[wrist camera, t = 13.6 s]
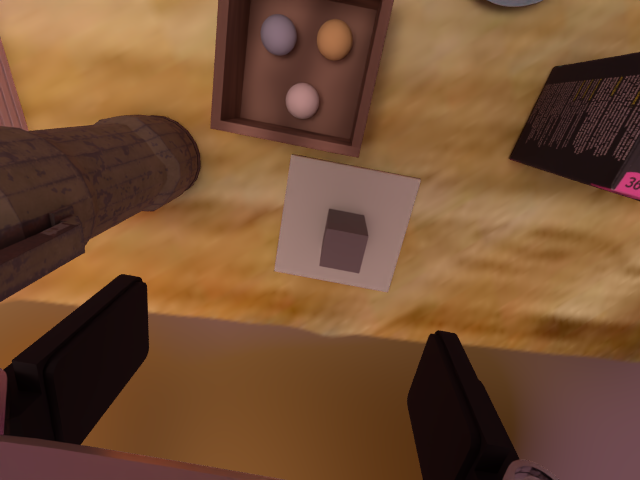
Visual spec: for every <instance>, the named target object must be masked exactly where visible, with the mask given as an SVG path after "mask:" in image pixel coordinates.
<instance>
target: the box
mask: <svg viewBox="0 0 640 480" xmlns="http://www.w3.org/2000/svg"><path fill="white" fill-rule="evenodd" d="M393 2H394V0H218V15H217V31H216V47H215V63H214V79H213V95H212V111H211V129H216V130H222V131H227V132H232V133H237V134H242V135H247V136H252V137H257V138H262V139H267V140H272V141H277V142H282V143H287V144H292V145H297V146H302V147H307V148H312V149H317V150H322V151H327V152H332V153H337V154H342V155H347V156H352V157H357V158H358V157H359V153H360V148H361V144H362V140H363V135H364V131H365V126H366V122H367V117H368V113H369V108H370V104H371V100H372V95H373V91H374V86H375V82H376V77H377V73H378V68H379V64H380V60H381V55H382V51H383V46H384V42H385V37H386V33H387V29H388V24H389V20H390V15H391V11H392V6H393ZM274 14H281V15H284V16H286V17H288V18H289V19H290V20H291V21H292V23H293V24H294V26H295V29H296V33H297V39H296V43H295V46H294V48H293V49H292V50H291V51H290V52H289V53H288V54H286V55H282V56H277V55H274V54H272V53H270V52H269V51H268V50H267V49H266V48H265V47H264V45H263V43H262V40H261V27H262V24H263V23H264V21H265V20H266V19H267V18H268V17H269V16H271V15H274ZM332 19H339V20H342V21H344V22H345V23H346V24H347V25H348V26H349V28H350V29H351V32H352V36H353V43H352V47H351V49H350V51H349V53H348V54H347V55H346V56H345V57H344V58H342V59H340V60H336V61H333V60H329V59H327V58H325V57H324V56H323V55H322V54H321V53H320V51H319V49H318V46H317V34H318V31H319V29H320V28H321V26H322V25H323V24H324V23H325V22H327V21H329V20H332ZM298 83H307V84H309V85H311V86H312V87H314V88H315V90H316V91H317V93H318V96H319V107H318V110H317V111H316V113H315V114H314V115H313V116H312V117H310V118H307V119H298V118H296V117H294V116H293V115H291V114H290V112H289V111H288V109H287V106H286V95H287V92H288V91H289V89H290V88H291V87H292V86H293V85H295V84H298Z"/></svg>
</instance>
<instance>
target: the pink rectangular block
mask: <svg viewBox="0 0 640 480" xmlns="http://www.w3.org/2000/svg"><path fill="white" fill-rule="evenodd" d="M0 126H6V127H15V128H21V129H23V130H26V131H28V127H27V124H26V121H25V117H24V114H23V111H22V107H21V104H20V101H19V97H18V94H17V91H16V87H15V84H14V81H13V78H12V74H11V71H10V68H9V64H8V61H7V58H6V54H5V51H4V48H3V44H2V41H1V38H0Z"/></svg>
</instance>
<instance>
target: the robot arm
mask: <svg viewBox="0 0 640 480" xmlns="http://www.w3.org/2000/svg"><path fill="white" fill-rule="evenodd" d="M148 351H149V336H148V303H147V285H146V283H144V282H142V279H141V278H140V277H136V276H130V275H125V274H121V275H119V276H118V277H116V278H115V279H114V280H113V281H111V282H110V283H109V284H108V285H106V286H105V287H104V288H103V289H101V290H100V291H99V292H97V293H96V294H95V295H94V296H92V297H91V298H90V299H89V300H87V301H86V302H85V303H84V304H82V305H81V306H80V307H79V308H77V309H76V310H75V311H73V312H72V313H71V314H70V315H68V316H67V317H66V318H65V319H63V320H62V321H61V322H60V323H58V324H57V325H56V326H55V327H53V328H52V329H51V330H50V331H48V332H47V333H46V334H44V335H43V336H42V337H41V338H39V339H38V340H37V341H36V342H34V343H33V344H32V345H31V346H29V347H28V348H27V349H26V350H24V351H23V352H22V353H20V354H19V355H18V356H17V357H15V358H14V359H13V360H12V363H11V364H10V365H9V366H8V367H6V368H5V369H4V370H2V369H1V368H0V480H283V479H277V478H271V477H265V476H260V475H255V474H249V473H243V472H237V471H232V470H226V469H220V468H214V467H209V466H202V465H196V464H191V463H186V462H180V461H174V460H168V459H162V458H155V457H150V456H144V455H138V454H132V453H125V452H120V451H114V450H108V449H102V448H96V447H90V446H83V445H81V443H82V442H83V441H84V439H85V438H86V437H87V435H88V434H89V433H90V432H91V430H92V429H93V428H94V426H95V425H96V424H97V422H98V421H99V420H100V418H101V417H102V416H103V414H104V413H105V412H106V410H107V409H108V408H109V406H110V405H111V404H112V402H113V401H114V400H115V398H116V397H117V396H118V395H119V393H120V392H121V391H122V389H123V388H124V387H125V385H126V384H127V383H128V381H129V380H130V379H131V377H132V376H133V375H134V373H135V372H136V371H137V369H138V368H139V367H140V365H141V364H142V363H143V362H144V360H145V359H146V357H147V354H148ZM407 405H408V410H409V415H410V420H411V425H412V429H413V434H414V439H415V444H416V449H417V453H418V458H419V463H420V468H421V472H422V477H423V480H559V479H558V478H557V477H556V476H555V475H554V474H552V473H551V472H550V471H549V470H547V469H546V468H544V467H542V466H541V465H539V464H537V463H534V462H531V461H529V460H520V459H519V457H518V455H517V453H516V451H515V449H514V447H513V445H512V443H511V441H510V439H509V437H508V435H507V432H506V430H505V428H504V426H503V425H502V422H501V420H500V418H499V416H498V414H497V412H496V410H495V408H494V406H493V404H492V402H491V400H490V398H489V396H488V394H487V392H486V390H485V387H484V386H483V384H482V383H481V381H479V380H478V378H477V376H476V374H475V371H474V370H473V367H472V365H471V363H470V362H469V359H468V357H467V355H466V353H465V351H464V349H463V347H462V344H461V342H460V340H459V338H458V336H457V335H456V334H455V333H450V332H445V331H439V330H438V331H436V332H435V334H430V335H429V337H428V340H427V343H426V346H425V348H424V351H423V354H422V357H421V360H420V362H419V365H418V368H417V371H416V374H415V376H414V379H413V382H412V385H411V388H410V390H409V393H408V398H407Z"/></svg>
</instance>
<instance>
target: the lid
mask: <svg viewBox="0 0 640 480" xmlns="http://www.w3.org/2000/svg"><path fill="white" fill-rule="evenodd" d="M420 182H421V179H420V178H414V177H409V176H404V175H399V174H394V173H389V172H383V171H378V170H373V169H368V168H363V167H357V166H352V165H347V164H342V163H337V162H331V161H326V160H321V159H316V158H311V157H306V156H300V155H295V154H292V155H291V160H290V167H289V174H288V181H287V188H286V194H285V201H284V208H283V215H282V222H281V229H280V236H279V242H278V249H277V256H276V263H275V270H274V271H277V272H282V273H287V274H293V275H298V276H303V277H309V278H314V279H319V280H325V281H330V282H335V283H341V284H346V285H351V286H357V287H362V288H367V289H373V290H378V291H383V292H388V290H389V287H390V284H391V280H392V277H393V273H394V270H395V267H396V263H397V260H398V256H399V253H400V250H401V246H402V243H403V239H404V236H405V233H406V229H407V226H408V223H409V219H410V216H411V212H412V209H413V206H414V202H415V199H416V195H417V192H418V189H419V185H420Z"/></svg>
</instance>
